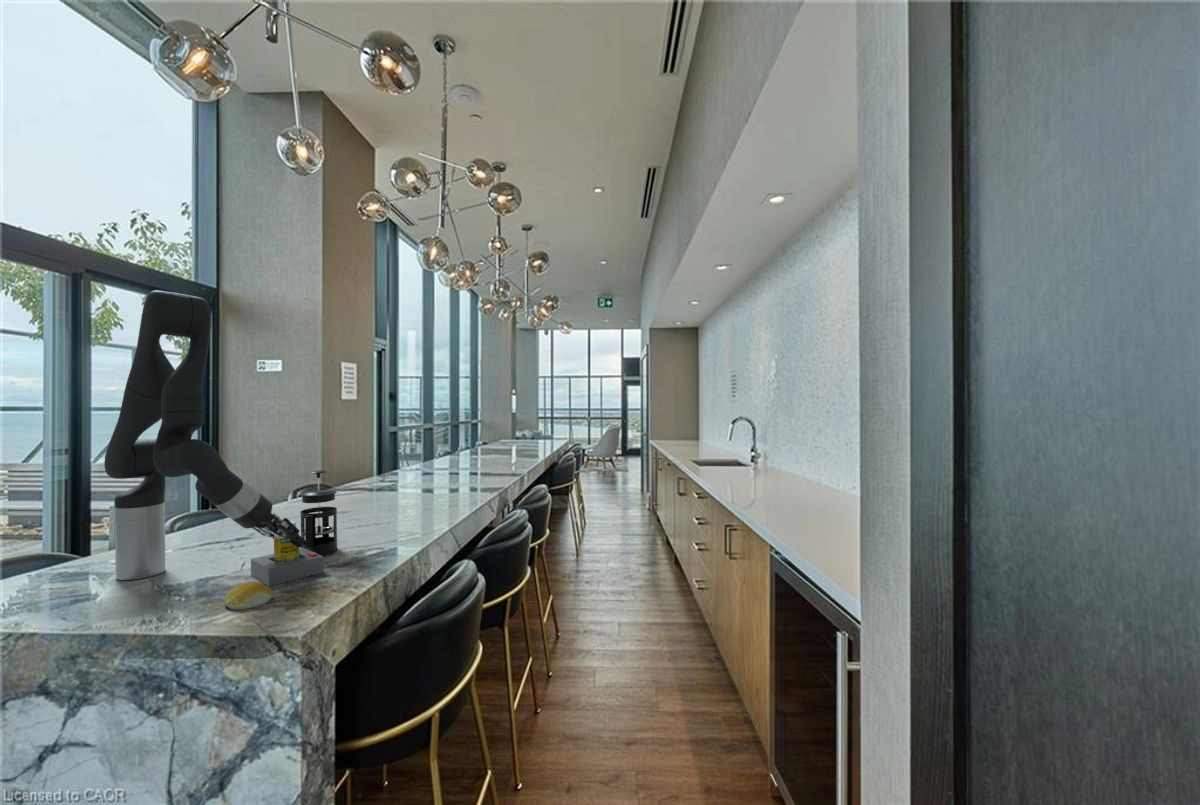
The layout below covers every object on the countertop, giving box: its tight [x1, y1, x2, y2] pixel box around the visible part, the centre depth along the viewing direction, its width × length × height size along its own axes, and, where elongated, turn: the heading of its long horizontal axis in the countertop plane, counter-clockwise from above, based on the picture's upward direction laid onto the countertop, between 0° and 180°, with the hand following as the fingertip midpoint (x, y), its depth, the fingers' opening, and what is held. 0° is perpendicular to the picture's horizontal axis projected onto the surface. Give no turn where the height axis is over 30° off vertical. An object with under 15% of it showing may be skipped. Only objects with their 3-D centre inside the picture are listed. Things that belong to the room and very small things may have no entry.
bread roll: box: [223, 581, 274, 611], centre depth 110 cm, size 8×9×4 cm
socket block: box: [250, 548, 324, 587], centre depth 127 cm, size 12×12×5 cm
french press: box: [299, 469, 339, 557], centre depth 144 cm, size 12×9×23 cm
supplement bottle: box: [273, 520, 300, 564], centre depth 127 cm, size 5×5×10 cm
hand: (293, 542), depth 129 cm, fingers closed on supplement bottle, 5 cm apart
